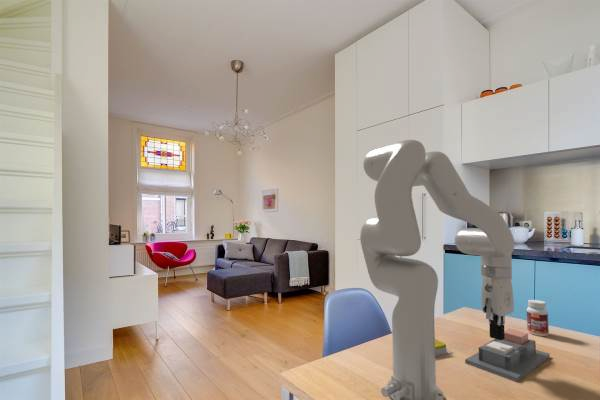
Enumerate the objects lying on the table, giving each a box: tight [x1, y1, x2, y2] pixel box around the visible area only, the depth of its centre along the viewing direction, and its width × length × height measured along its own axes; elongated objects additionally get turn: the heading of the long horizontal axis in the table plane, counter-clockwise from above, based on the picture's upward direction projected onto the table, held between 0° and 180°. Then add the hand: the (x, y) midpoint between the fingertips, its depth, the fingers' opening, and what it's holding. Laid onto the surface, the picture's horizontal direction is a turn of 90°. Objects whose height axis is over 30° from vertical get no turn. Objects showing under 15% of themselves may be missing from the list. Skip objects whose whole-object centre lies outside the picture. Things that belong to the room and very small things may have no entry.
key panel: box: [464, 338, 550, 383], centre depth 92 cm, size 24×13×4 cm, turn 126°
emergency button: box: [435, 338, 453, 358], centre depth 99 cm, size 9×4×15 cm
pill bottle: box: [526, 299, 550, 337], centre depth 113 cm, size 6×6×11 cm
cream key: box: [486, 341, 513, 355], centre depth 89 cm, size 5×5×3 cm
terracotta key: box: [503, 328, 529, 345], centre depth 96 cm, size 5×5×3 cm
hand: (497, 338), depth 89 cm, fingers closed
